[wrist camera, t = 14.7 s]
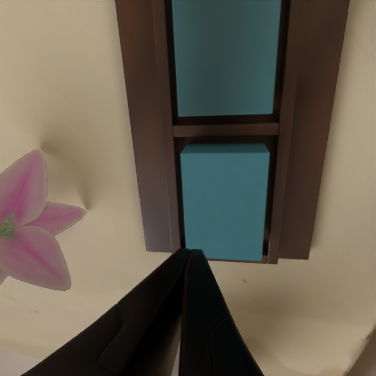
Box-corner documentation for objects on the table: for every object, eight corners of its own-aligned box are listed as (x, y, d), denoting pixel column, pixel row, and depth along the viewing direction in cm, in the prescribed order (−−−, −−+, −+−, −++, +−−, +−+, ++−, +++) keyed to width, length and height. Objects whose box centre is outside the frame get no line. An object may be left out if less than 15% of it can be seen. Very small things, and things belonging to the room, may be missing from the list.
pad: (263, 142, 18) (269, 152, 15) (257, 238, 21) (261, 261, 18) (187, 143, 19) (180, 153, 16) (191, 235, 22) (186, 257, 19)
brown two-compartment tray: (356, -83, 14) (402, -144, 10) (305, 252, 22) (320, 286, 18) (114, -50, 16) (80, -91, 12) (149, 245, 24) (135, 273, 20)
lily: (103, 262, 27) (85, 302, 18) (-21, 291, 25) (-117, 355, 15) (81, 152, 27) (52, 131, 17) (-47, 170, 24) (-162, 159, 15)
